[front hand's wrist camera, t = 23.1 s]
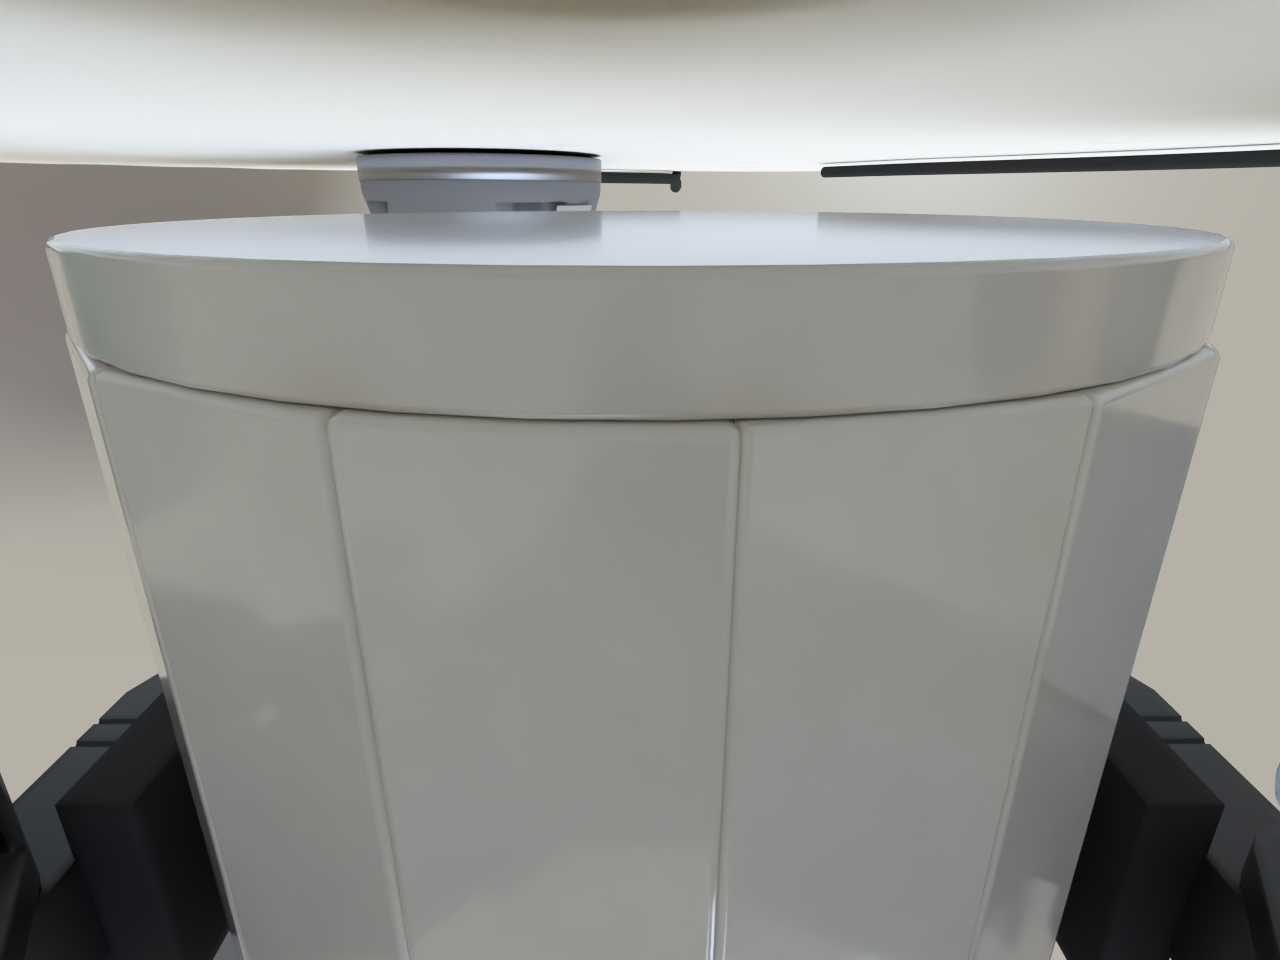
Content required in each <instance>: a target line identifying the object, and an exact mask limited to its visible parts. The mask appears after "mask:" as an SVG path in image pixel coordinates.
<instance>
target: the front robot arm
mask: <svg viewBox="0 0 1280 960" xmlns="http://www.w3.org/2000/svg"><path fill="white" fill-rule="evenodd" d="M1248 167H1280V150H1258V151H1235V152H1211V153H1187V154H1162V155H1136V156H1109V157H1080V158H1051V159H1022V160H993V161H962V162H933V163H905V164H881V165H858V166H836V167H824V168H822V170H821V175H822V177H857V176H894V175H939V174H988V173H1035V172H1083V171H1129V170H1169V169H1210V168H1248ZM1275 794H1276V799H1277V802H1278V803H1279V805H1280V764H1279V766H1278V769H1277V772H1276V778H1275ZM228 932H229V927H228V924H227V920H226V916H225V913H224V909H223V905H222V902H221V898H220V895H219V891H218V887H217V884H216V880H215V877H214V873H213V869H212V866H211V862H210V858H209V855H208V851H207V848H206V844H205V840H204V837H203V833H202V830H201V826H200V822H199V819H198V815H197V811H196V808H195V804H194V801H193V797H192V793H191V790H190V786H189V783H188V779H187V775H186V772H185V768H184V764H183V761H182V757H181V754H180V750H179V746H178V743H177V739H176V736H175V732H174V728H173V725H172V721H171V717H170V714H169V710H168V707H167V703H166V699H165V696H164V692H163V688H162V685H161V681H160V678H159V674H157V675H155V676H153V677H151V678H150V679H148V680H147V681H145V682H143V683H141V684H140V685H138V686H136V687H135V688H133V689H131V690H130V691H128V692H126V693H125V694H124V695H123V696H122V697H121V698H120V699H119V700H118V701H117V702H116V703H115V704H114V705H113V706H112V707H111V708H110V709H109V710H108V711H107V712H106V713H105V714H104V715H103V716H102V717H101V718H100V719H99V724H94V725H93V726H92V727H91V728H90V729H89V730H88V731H87V732H85V733H84V734H83V735H82V736H81V737H80V738H79V739H78V740H77V744H76V746H75V747H70V748H69V749H68V750H67V751H66V752H65V753H64V754H63V755H62V756H61V757H60V758H59V759H58V760H57V761H56V762H55V763H54V764H53V765H52V766H51V767H50V768H48V769H47V770H46V771H45V772H44V773H43V774H42V775H41V776H40V777H39V778H38V779H37V780H36V781H35V782H34V783H33V784H32V785H31V786H30V787H29V788H28V789H27V790H26V791H25V792H24V793H23V794H22V795H21V796H20V797H19V798H18V799H17V800H16V801H15V802H14V803H13V804H12V802H11V799H10V797H9V794H8V792H7V789H6V786H5V784H4V781H3V779H2V776H1V774H0V960H213V959H214V957H215V955H216V953H217V952H218V950H219V948H220V946H221V944H222V943H223V941H224V939H225V937H226V935H227V934H228ZM1056 941H1057V943H1058V945H1059V946H1060V948H1061V950H1062V952H1063V954H1064V955H1065V957H1066V959H1067V960H1169V958H1171V959H1172V960H1280V811H1278V810H1277V809H1276V808H1275V807H1274V806H1273V805H1272V804H1271V803H1270V802H1269V801H1268V800H1267V799H1266V798H1265V797H1264V796H1263V795H1262V794H1261V793H1260V792H1259V791H1258V790H1257V789H1256V788H1255V787H1254V786H1253V785H1252V784H1251V783H1250V782H1249V781H1248V780H1247V779H1245V778H1244V777H1243V776H1242V775H1241V774H1240V773H1239V772H1238V771H1237V770H1236V769H1235V768H1234V767H1233V766H1232V765H1231V764H1230V763H1229V762H1228V761H1227V760H1226V759H1225V758H1224V757H1223V756H1222V755H1221V754H1220V753H1219V752H1218V751H1217V750H1216V749H1215V748H1213V747H1212V746H1211V745H1210V744H1205V743H1204V738H1203V737H1202V736H1201V735H1200V734H1199V733H1198V732H1197V731H1196V730H1195V729H1194V728H1193V727H1192V726H1191V725H1190V724H1189V723H1188V722H1182V719H1181V716H1180V715H1179V714H1178V713H1177V712H1176V711H1175V710H1174V709H1173V708H1172V707H1171V706H1170V705H1169V704H1168V703H1167V702H1166V701H1165V700H1164V699H1163V698H1162V697H1161V696H1160V695H1159V694H1158V693H1157V692H1156V691H1155V690H1153V689H1152V688H1150V687H1148V686H1147V685H1145V684H1143V683H1142V682H1140V681H1138V680H1137V679H1135V678H1133V677H1132V676H1130V678H1129V682H1128V686H1127V689H1126V693H1125V696H1124V700H1123V703H1122V707H1121V710H1120V714H1119V717H1118V721H1117V725H1116V728H1115V732H1114V735H1113V739H1112V742H1111V746H1110V749H1109V753H1108V756H1107V760H1106V763H1105V767H1104V771H1103V774H1102V778H1101V781H1100V785H1099V788H1098V792H1097V795H1096V799H1095V802H1094V806H1093V809H1092V813H1091V817H1090V820H1089V824H1088V827H1087V831H1086V834H1085V838H1084V841H1083V845H1082V848H1081V852H1080V856H1079V859H1078V863H1077V866H1076V870H1075V873H1074V877H1073V880H1072V884H1071V887H1070V891H1069V894H1068V898H1067V902H1066V905H1065V909H1064V912H1063V916H1062V919H1061V923H1060V926H1059V930H1058V933H1057V937H1056Z"/></svg>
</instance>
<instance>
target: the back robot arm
mask: <svg viewBox="0 0 1280 960" xmlns="http://www.w3.org/2000/svg"><path fill="white" fill-rule="evenodd" d="M356 160H357V168H358V176H359V181H360V183H361V190H362V193H363V196H364V199H365V201H366V203H367V205H368V208H369V210H370V212H371V214H382V213H432V212H502V211H595V210H596V207H597V203H598V200H599V196H600V183H651V184H671V190H672V191H673V192H678V191H679V190H680V188H681V180H680V176H681V171H673V172H672V174H666V173H621V172H601V160H599V159H595V158H588V157H576V156H560V155H537V154H503V153H393V154H372V155H362V156H358V157H356ZM213 960H237V956H236V952H235V949H234V945H233V942H232V938H231V934H230V931H229V932H228V934H227V935H226V937H225V939H224V941H223V943H222V944H221V946H220V948H219V950H218V952H217V953H216V955H215V957H214V959H213Z"/></svg>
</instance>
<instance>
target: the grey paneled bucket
mask: <svg viewBox="0 0 1280 960" xmlns="http://www.w3.org/2000/svg"><path fill="white" fill-rule="evenodd" d="M1234 250H1235V245H1234V241H1233V240H1231V239H1229V238H1227V237H1225V236H1223V235H1221V234H1216V233H1212V232H1207V231H1202V230H1194V229H1186V228H1178V227H1169V226H1157V225H1146V224H1133V223H1118V222H1103V221H1085V220H1067V219H1045V218H1022V217H996V216H965V215H932V214H892V213H842V212H772V211H502V212H432V213H382V214H343V215H308V216H279V217H254V218H230V219H210V220H191V221H174V222H158V223H144V224H131V225H119V226H109V227H99V228H91V229H84V230H77V231H71V232H67V233H63V234H59V235H56V236H53V237H51V238H49V240H48V242H47V245H46V253H47V257H48V260H49V264H50V268H51V271H52V275H53V279H54V282H55V286H56V290H57V293H58V297H59V301H60V304H61V308H62V311H63V315H64V319H65V322H66V326H67V333H66V341H67V345H68V349H69V352H70V356H71V359H72V363H73V367H74V370H75V374H76V378H77V381H78V385H79V388H80V392H81V396H82V399H83V403H84V406H85V410H86V414H87V417H88V421H89V424H90V428H91V432H92V435H93V439H94V443H95V446H96V450H97V453H98V457H99V460H100V464H101V468H102V472H103V475H104V479H105V482H106V486H107V490H108V493H109V497H110V500H111V504H112V508H113V511H114V515H115V519H116V522H117V526H118V529H119V533H120V537H121V540H122V544H123V547H124V551H125V555H126V558H127V562H128V566H129V569H130V573H131V576H132V580H133V584H134V587H135V591H136V594H137V598H138V602H139V605H140V609H141V613H142V616H143V620H144V623H145V627H146V631H147V634H148V638H149V641H150V645H151V649H152V652H153V656H154V659H155V663H156V667H157V670H158V674H159V678H160V681H161V685H162V688H163V692H164V696H165V699H166V703H167V707H168V710H169V714H170V717H171V721H172V725H173V728H174V732H175V736H176V739H177V743H178V746H179V750H180V754H181V757H182V761H183V764H184V768H185V772H186V775H187V779H188V783H189V786H190V790H191V793H192V797H193V801H194V804H195V808H196V811H197V815H198V819H199V822H200V826H201V830H202V833H203V837H204V840H205V844H206V848H207V851H208V855H209V858H210V862H211V866H212V869H213V873H214V877H215V880H216V884H217V887H218V891H219V895H220V898H221V902H222V905H223V909H224V913H225V916H226V920H227V924H228V927H229V931H230V934H231V938H232V942H233V945H234V949H235V952H236V956H237V960H1050V958H1051V955H1052V951H1053V948H1054V944H1055V941H1056V937H1057V933H1058V930H1059V926H1060V923H1061V919H1062V916H1063V912H1064V909H1065V905H1066V902H1067V898H1068V894H1069V891H1070V887H1071V884H1072V880H1073V877H1074V873H1075V870H1076V866H1077V863H1078V859H1079V856H1080V852H1081V848H1082V845H1083V841H1084V838H1085V834H1086V831H1087V827H1088V824H1089V820H1090V817H1091V813H1092V809H1093V806H1094V802H1095V799H1096V795H1097V792H1098V788H1099V785H1100V781H1101V778H1102V774H1103V771H1104V767H1105V763H1106V760H1107V756H1108V753H1109V749H1110V746H1111V742H1112V739H1113V735H1114V732H1115V728H1116V725H1117V721H1118V717H1119V714H1120V710H1121V707H1122V703H1123V700H1124V696H1125V693H1126V689H1127V686H1128V682H1129V678H1130V675H1131V671H1132V668H1133V664H1134V661H1135V657H1136V654H1137V650H1138V646H1139V643H1140V639H1141V636H1142V632H1143V628H1144V625H1145V622H1146V618H1147V615H1148V611H1149V608H1150V604H1151V600H1152V597H1153V593H1154V590H1155V586H1156V583H1157V579H1158V576H1159V572H1160V569H1161V565H1162V562H1163V558H1164V555H1165V551H1166V547H1167V544H1168V540H1169V537H1170V533H1171V530H1172V526H1173V522H1174V519H1175V516H1176V512H1177V508H1178V505H1179V501H1180V498H1181V494H1182V491H1183V487H1184V484H1185V480H1186V477H1187V473H1188V470H1189V466H1190V462H1191V459H1192V455H1193V452H1194V448H1195V445H1196V441H1197V438H1198V434H1199V430H1200V427H1201V424H1202V420H1203V416H1204V413H1205V409H1206V406H1207V402H1208V399H1209V395H1210V392H1211V388H1212V384H1213V381H1214V377H1215V374H1216V370H1217V367H1218V363H1219V360H1220V356H1219V352H1218V349H1217V348H1216V347H1215V346H1214V345H1213V344H1212V343H1211V342H1210V341H1209V340H1208V337H1209V336H1210V334H1211V333H1212V330H1213V326H1214V322H1215V319H1216V315H1217V312H1218V308H1219V304H1220V301H1221V297H1222V293H1223V290H1224V286H1225V282H1226V279H1227V275H1228V272H1229V268H1230V264H1231V261H1232V257H1233V253H1234Z"/></svg>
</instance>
